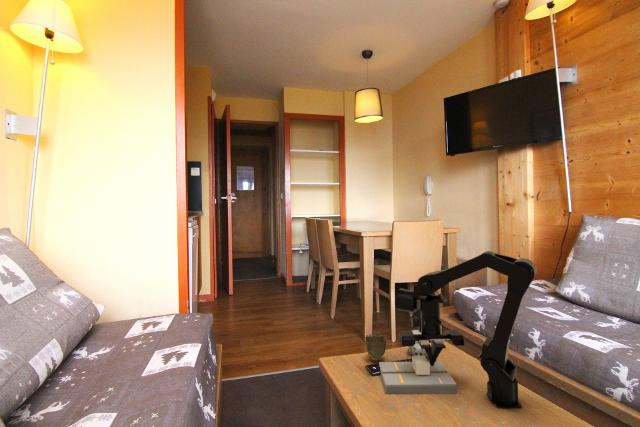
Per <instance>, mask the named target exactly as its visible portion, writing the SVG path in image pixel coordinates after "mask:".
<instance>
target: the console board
mask: <svg viewBox="0 0 640 427" xmlns="http://www.w3.org/2000/svg"><path fill="white" fill-rule="evenodd" d="M379 367H380V371H381V374H380V378H381V381H382V384H383V388H384V392H385V394H386V395H395V394H397V395H398V394H399V395H401V394H402V395H403V394H404V395H405V394H407V395H409V394H416V395H417V394H457V392H458V391H457V389H458V388H457V386H458V384H457V383H456V381H455V380H454V379H453V377H452V376H451V375H450V372H448V370H447V369H446V367H445V366H444V364H443V363H442V362H441V360H440V361H437V360H436V362H435V364H434V366H431V365H430V375H416V373H415V371H414V369H413V367H412V361H379V362H378V368H379ZM380 371H379V372H380Z"/></svg>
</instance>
